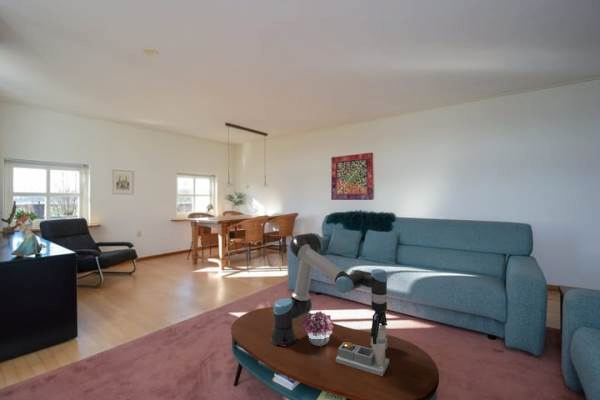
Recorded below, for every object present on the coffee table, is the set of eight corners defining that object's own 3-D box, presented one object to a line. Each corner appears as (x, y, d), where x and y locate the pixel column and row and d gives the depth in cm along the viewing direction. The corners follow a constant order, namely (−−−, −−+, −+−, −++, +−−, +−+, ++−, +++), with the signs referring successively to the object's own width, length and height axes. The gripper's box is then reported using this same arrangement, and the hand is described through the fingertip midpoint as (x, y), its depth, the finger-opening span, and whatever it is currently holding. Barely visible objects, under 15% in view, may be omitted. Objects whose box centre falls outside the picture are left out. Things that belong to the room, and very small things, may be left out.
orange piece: (342, 355, 149) (342, 345, 150) (345, 350, 154) (345, 341, 154) (351, 357, 147) (351, 347, 147) (354, 353, 151) (354, 343, 151)
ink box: (377, 353, 156) (376, 331, 156) (370, 349, 160) (370, 328, 160) (387, 348, 160) (387, 327, 160) (380, 344, 164) (380, 324, 165)
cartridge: (372, 364, 141) (372, 331, 141) (376, 359, 145) (375, 327, 146) (383, 367, 138) (383, 334, 138) (386, 362, 143) (386, 330, 143)
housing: (335, 362, 147) (335, 350, 147) (345, 350, 158) (345, 339, 158) (382, 376, 135) (382, 363, 135) (389, 362, 146) (389, 351, 146)
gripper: (379, 311, 129) (379, 357, 129) (392, 295, 151) (392, 335, 151) (363, 307, 133) (363, 353, 133) (378, 293, 155) (378, 332, 155)
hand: (379, 343), depth 142 cm, fingers open, 13 cm apart
